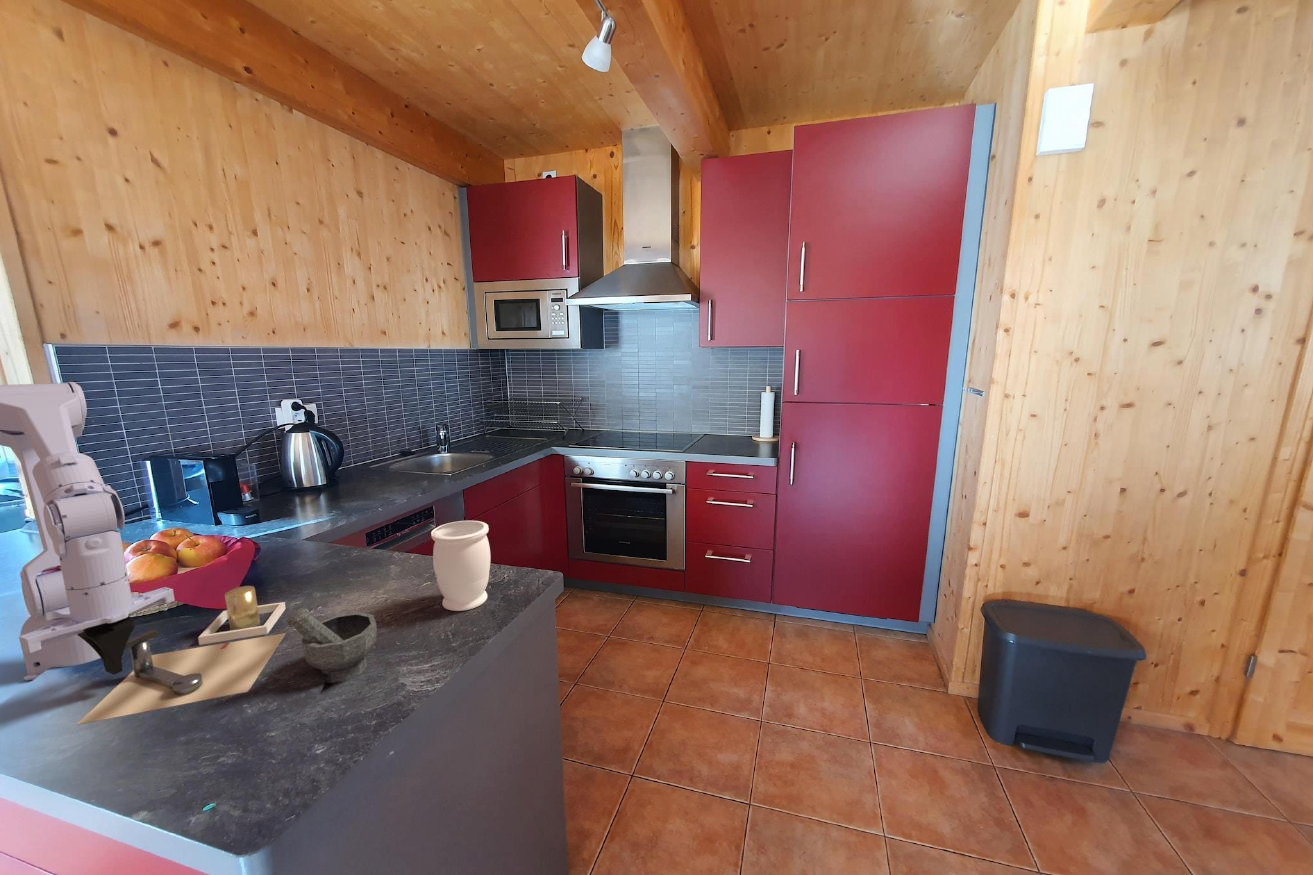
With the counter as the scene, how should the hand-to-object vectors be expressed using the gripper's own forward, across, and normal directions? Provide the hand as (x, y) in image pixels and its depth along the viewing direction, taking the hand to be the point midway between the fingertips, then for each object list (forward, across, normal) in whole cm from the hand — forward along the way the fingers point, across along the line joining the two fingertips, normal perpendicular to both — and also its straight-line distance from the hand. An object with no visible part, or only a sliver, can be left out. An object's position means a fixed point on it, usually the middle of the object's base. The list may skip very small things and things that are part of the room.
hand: (114, 671), depth 70 cm
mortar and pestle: (+4, +15, -24) cm, 29 cm away
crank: (+2, +3, -5) cm, 6 cm away
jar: (+4, +40, -26) cm, 48 cm away
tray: (+4, +17, +2) cm, 18 cm away
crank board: (+4, +6, -6) cm, 9 cm away
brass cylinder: (+3, +17, +2) cm, 18 cm away
